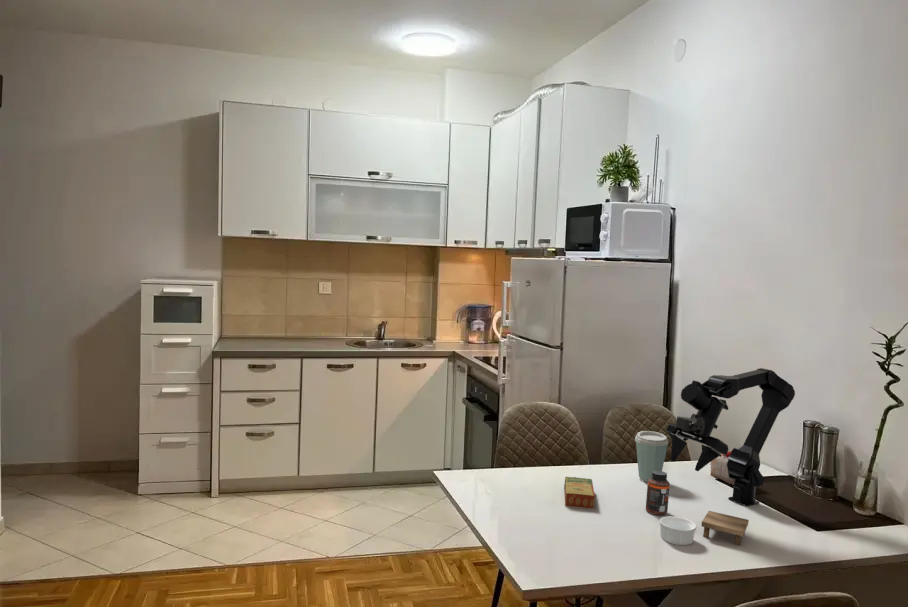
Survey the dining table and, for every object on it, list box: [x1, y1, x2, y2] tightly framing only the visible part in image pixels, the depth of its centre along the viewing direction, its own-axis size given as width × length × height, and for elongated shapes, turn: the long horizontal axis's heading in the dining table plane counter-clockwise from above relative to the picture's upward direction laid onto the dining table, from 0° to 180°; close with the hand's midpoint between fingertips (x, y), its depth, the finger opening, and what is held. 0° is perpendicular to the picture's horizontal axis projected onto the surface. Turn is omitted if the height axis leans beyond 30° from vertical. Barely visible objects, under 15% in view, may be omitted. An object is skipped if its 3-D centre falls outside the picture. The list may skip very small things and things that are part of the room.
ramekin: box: [659, 516, 697, 546], centre depth 174 cm, size 9×9×4 cm
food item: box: [709, 450, 735, 486], centre depth 227 cm, size 14×8×10 cm, turn 18°
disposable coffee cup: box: [634, 430, 669, 483], centre depth 221 cm, size 11×11×15 cm
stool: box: [701, 510, 749, 546], centre depth 178 cm, size 10×10×4 cm
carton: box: [563, 476, 596, 510], centre depth 200 cm, size 8×16×4 cm, turn 172°
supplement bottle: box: [645, 470, 671, 516], centre depth 192 cm, size 6×6×11 cm
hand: (684, 465), depth 194 cm, fingers open, 9 cm apart
